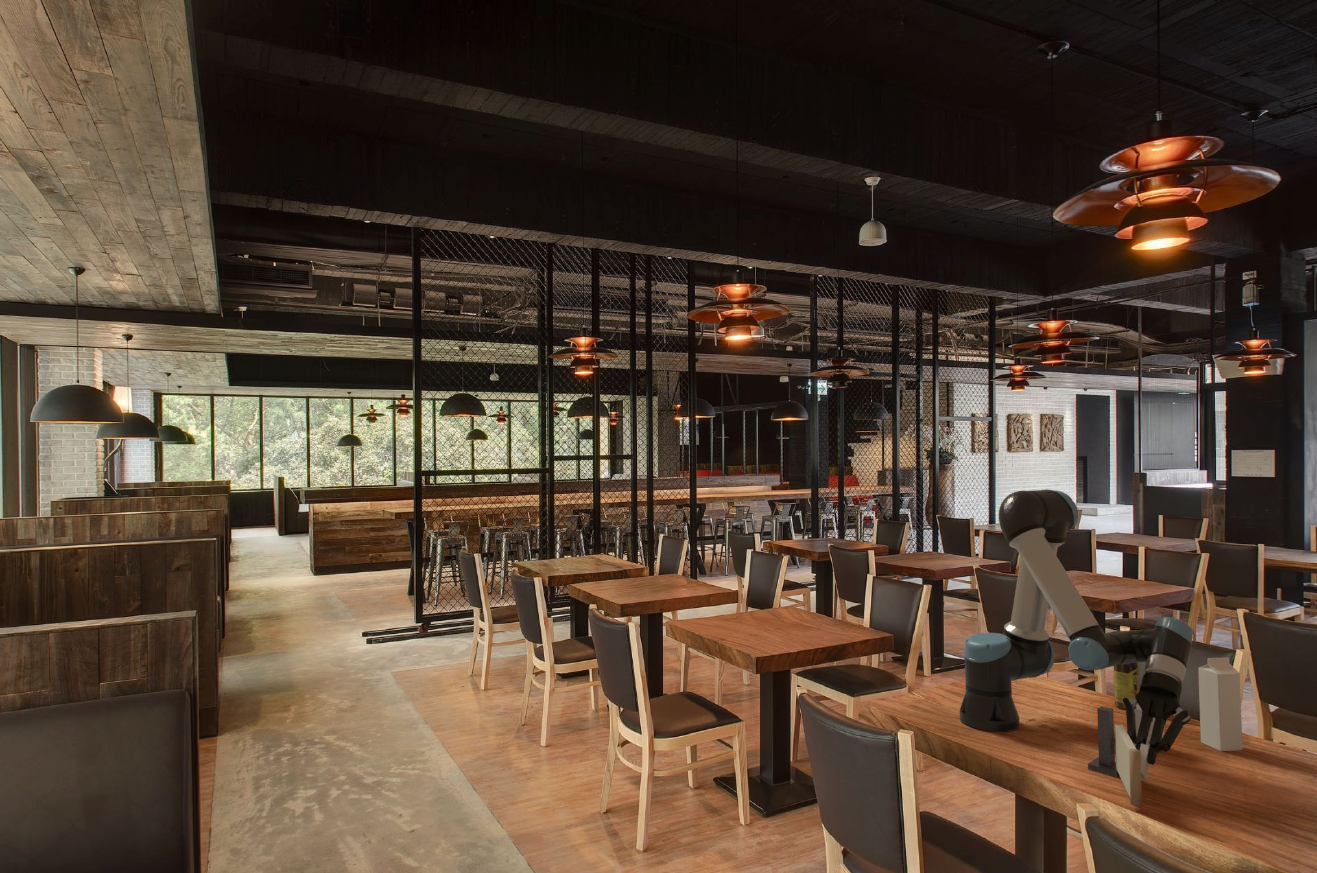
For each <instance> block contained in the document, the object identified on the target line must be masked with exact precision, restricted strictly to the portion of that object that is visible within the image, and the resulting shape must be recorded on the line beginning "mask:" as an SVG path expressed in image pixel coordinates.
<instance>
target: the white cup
mask: <svg viewBox="0 0 1317 873" xmlns="http://www.w3.org/2000/svg"><path fill="white" fill-rule="evenodd" d="M1134 712H1135V722H1136V737H1137V734H1138V730H1139V726H1140V722H1141V718H1142V710H1141V708H1140V706H1139V705H1138V704H1137V705H1136V709H1135V710H1134ZM1154 722H1155V718H1153V720H1152V722H1151V725H1150V729H1149V734H1148V738H1147V742H1146V745H1149V747H1150V744H1149V742H1150V739H1151V735H1152V730H1153V726H1154ZM1164 734H1165V729H1164V730H1163V734H1162V738H1163V736H1164ZM1134 746H1136V744H1134Z"/></svg>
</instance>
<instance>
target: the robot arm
mask: <svg viewBox="0 0 1317 873" xmlns="http://www.w3.org/2000/svg"><path fill="white" fill-rule="evenodd" d="M1078 520H1079V510H1078V507H1077V504H1076V502H1075V501H1074V500H1073V498H1072V497H1071V496H1070V495H1069V494H1067V493H1065V492H1064V491H1061V490H1053V489H1048V488H1047V489H1039V490H1036V489H1035V490H1018V491H1014V492H1012V493H1010V494H1008V495H1007V496H1006V497H1005V498H1004V499H1003V500H1002V502H1001V504H1000V505H999V509H998V523H999V526H1000V529H1001V532H1002V534H1003V537H1004V539H1005V541H1006V542H1007V543H1008V545H1009V547H1010V548H1012V549H1015V550H1017V553H1018V554H1019V556H1020V561H1019V567H1018V573H1017V579H1016V580H1017V581H1016V586H1015V592H1014V599H1013V606H1012V612H1011V616H1010V617H1011V618H1010V621H1009V622H1006V623H1005V624H1004V625H1003V631H1002V633H999V632H998V633H996V632H987V633H985V632H981V633H975V634H972V635H970V636H969V637H967V638H966V640H965V641H964V652H963V654H964V655H963V656H964V676H965V692H964V696H963V698H962V702H961V705H960V708H959V721H960V722H961V723H963V724H964V725H966V726H968V727H971V728H974V729H978V730H982V731H989V732H1012V731H1015V730H1018V729H1019V728H1020V726H1021V723H1020V716H1019V713H1018V710H1017V707H1016V705H1015V704H1016V703H1015V702H1014V699H1013V695H1012V694H1013V693H1012V689H1013V688H1012V681H1017V680H1023V679H1033V678H1037V677H1040V676H1042V675H1044V674H1047V673H1048V672H1050V671H1051V669H1052V667H1053V665H1054V663H1055V660H1056V652H1055V648H1054V647H1053V643H1052V642H1051V641H1050V634H1049V632H1048V631H1047V630H1046V629H1045V626H1046V622H1047V615H1048V608H1049V606H1050V608H1051V610H1052V612H1053V614H1054V616H1055V617H1056V619H1057V620H1058V622H1059V623H1060V625H1061V627H1062V629H1063V630H1064V633H1065V634H1066V635H1067V637H1068V640H1069V641H1070V643H1069V644H1068V648H1067V649H1068V656H1069V659H1070V660H1071V662H1072V664H1073V665H1075V667H1077V668H1079V669H1081V670H1084V671H1098V670H1104V669H1107V668H1110V667H1114V666H1118V665H1124V664H1129V663H1145V667H1144V671H1143V675H1142V679H1141V682H1140V685H1139V693H1138V694H1136V696H1135V698H1132V699H1128V698H1123V702H1124V704H1125V706H1126V710H1125V712H1126V715H1125V716H1126V732H1127V733H1128V735H1129V737H1130V739H1131V740H1132V742H1133V744H1136V746H1135V747H1136V749H1137V750H1139V751H1140V755H1141V780H1142V779H1143V780H1147V777H1148V776H1147V775H1148V771H1149V768H1150V765H1152V766H1154V765H1155V764H1156V760H1157V756H1158V753H1159V752H1164V753H1167V752H1169V751H1170V750H1171V749H1172V748H1171V747H1172V746H1173V745H1174V743H1175V741H1176V739H1177V738H1178V736H1179V734H1180V732H1181V731H1182V729H1183V727H1184V726H1185V725H1186V724H1188V723H1189V722H1190V721H1191V719H1192V717H1191V715H1190V713H1189V712H1188V710H1185V709H1183V708H1181V705H1180V700H1181V694H1182V690H1183V687H1182V686H1183V685H1184V680H1185V676H1186V673H1187V667H1188V666H1187V663H1188V661H1189V657H1190V654H1191V650H1192V647H1193V639H1194V631H1193V628H1192V627H1191V626H1190V625H1189V624H1188V623H1187V622H1185V621H1183V620H1181V619H1178V618H1175V617H1169V616H1167V617H1161V618H1159V619H1157V621H1156V624H1154V628H1149V629H1148V628H1147V629H1140V630H1115V631H1114V630H1113V631H1110V632H1109V631H1108V632H1104V631H1103V629H1102V628H1101V626H1100V624H1099V623H1098V621H1097V620H1096V618H1095V615H1094V614H1093V613H1092V611H1091V610H1090V608H1089V606H1088V605H1087V603H1086V601H1085V600H1084V598H1083V597H1082V595H1081V594H1080V591H1079V590H1078V589H1077V587H1076V585H1075V583H1074V582H1073V580H1072V579H1071V578H1070V576H1069V574H1068V572H1067V571H1066V569H1065V568H1064V566H1063V564H1062V563H1061V561H1060V559H1059V558H1058V556H1057V552H1058V548H1059V547H1060V546H1062V545H1065V543H1066V537H1067V532H1070V531H1071V530H1072V529H1073V528H1075V527H1076V526H1077V523H1078V522H1079V521H1078ZM1137 704H1138V705H1139V706H1140V708H1141V710H1142V718H1141V722H1140V726H1139V730H1138V734H1137V737H1136V722H1135V712H1134V710H1135V709H1136V705H1137ZM1174 715H1175V716H1174ZM1172 716H1174V718H1173V719H1172V720H1171V723H1170V724H1169V726H1168V728H1167V730H1166V731H1165V725H1166V724H1167V720H1168V719H1169V718H1171V717H1172ZM1153 718H1155V722H1154V726H1153V730H1152V735H1151V739H1150V742H1149V744H1150V747H1149V745H1146V742H1147V738H1148V734H1149V729H1150V725H1151V722H1152V720H1153ZM1163 730H1164V731H1165V732H1164V736H1163V738H1162V734H1163Z"/></svg>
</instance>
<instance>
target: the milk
mask: <svg viewBox="0 0 1317 873" xmlns="http://www.w3.org/2000/svg"><path fill="white" fill-rule="evenodd" d="M1206 661H1207V664H1204V665H1202V666H1199V667H1198V669H1197V670H1198V692H1199V693H1198V696H1199V697H1198V699H1199V720H1200V722H1199V724H1200V726H1199V727H1200V743H1201V744H1203V745H1205V746H1208V747H1210V748H1213V749H1215V750H1216V751H1219V752H1233V751H1234V752H1235V751H1243V725H1242V724H1243V723H1242V722H1243V721H1242V696H1241V673H1240V671H1238V670H1237V669H1236V668H1235V667H1234V666H1233V665H1232V664H1231V663H1230V657H1208V658H1207V660H1206Z"/></svg>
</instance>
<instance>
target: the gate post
mask: <svg viewBox="0 0 1317 873" xmlns="http://www.w3.org/2000/svg"><path fill="white" fill-rule="evenodd" d="M1096 711H1097V740H1098V756H1097V757H1095V758H1094V759H1093V760H1092V761H1090V762H1088V763H1087V770H1090V771H1094V772H1097V773H1100V774H1104V775H1107V776H1111V777H1114V778H1118V777H1120V775H1119V773H1118V771H1117V769H1116V746H1115V723H1114V722H1115V719H1114V718H1115V717H1114V708H1111V707H1108V706H1103V705H1101V706H1100V707H1097V710H1096Z"/></svg>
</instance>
